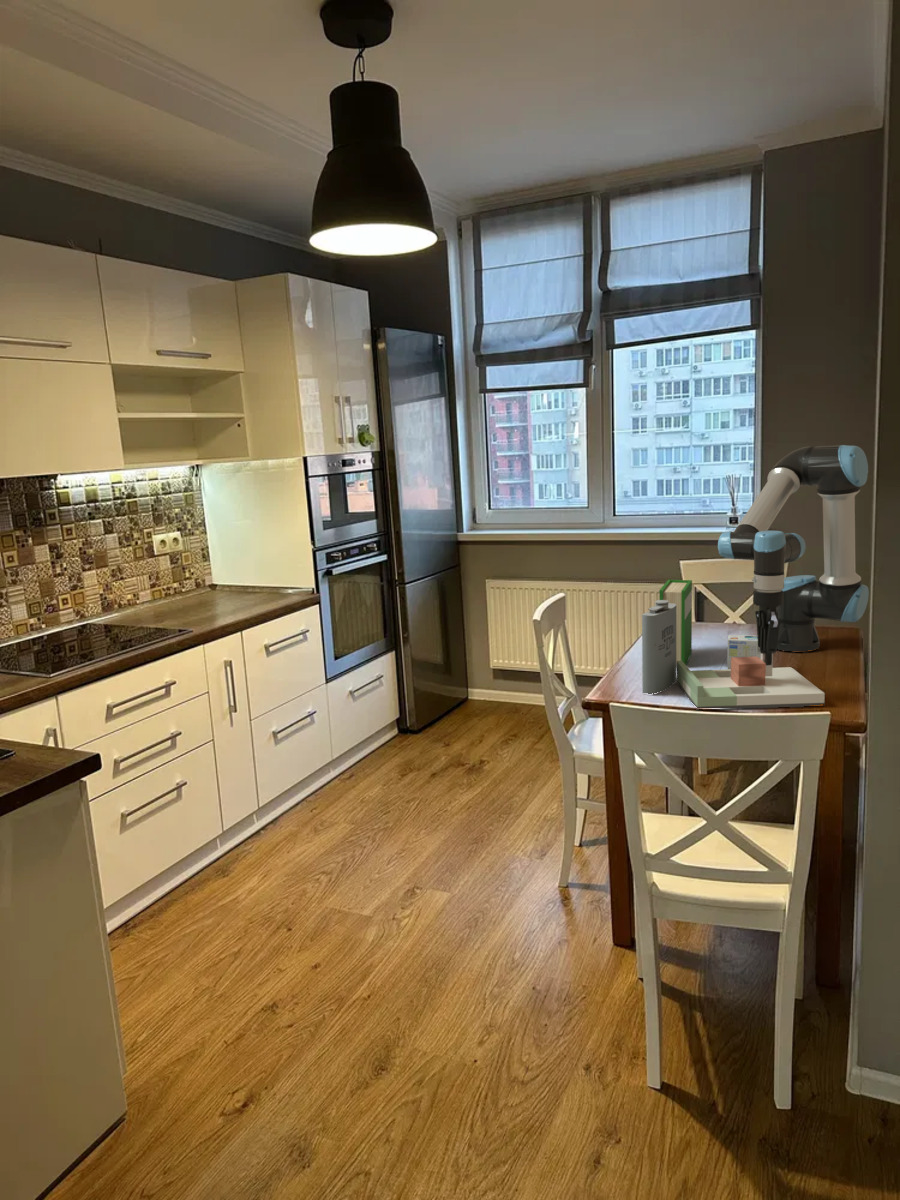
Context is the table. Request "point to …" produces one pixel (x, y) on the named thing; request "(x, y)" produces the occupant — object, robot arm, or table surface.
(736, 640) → the light bulb box
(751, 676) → the block
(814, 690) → the box
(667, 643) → the flask
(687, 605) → the hardback book
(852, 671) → the table surface
